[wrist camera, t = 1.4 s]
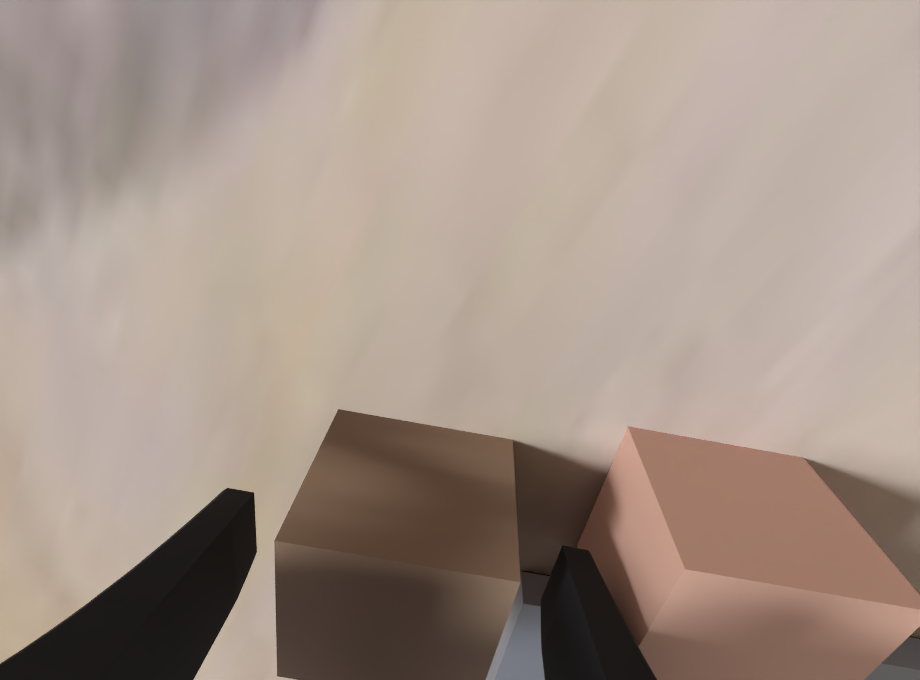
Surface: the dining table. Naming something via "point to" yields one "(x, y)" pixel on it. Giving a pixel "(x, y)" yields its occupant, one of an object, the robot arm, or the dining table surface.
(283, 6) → the dining table surface
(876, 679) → the slate baseplate
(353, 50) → the dining table surface
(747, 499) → the terracotta block
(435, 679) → the walnut block
